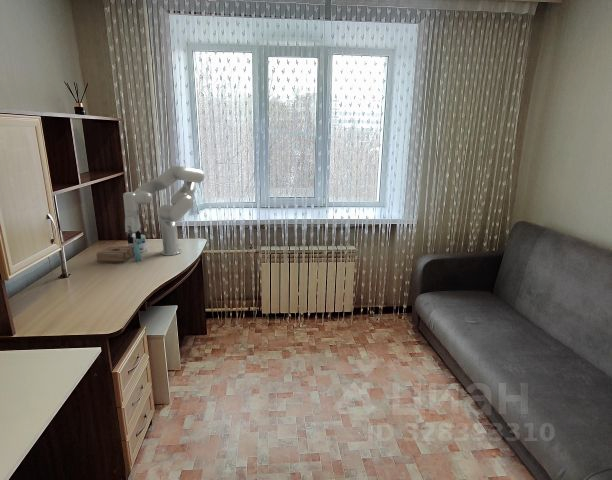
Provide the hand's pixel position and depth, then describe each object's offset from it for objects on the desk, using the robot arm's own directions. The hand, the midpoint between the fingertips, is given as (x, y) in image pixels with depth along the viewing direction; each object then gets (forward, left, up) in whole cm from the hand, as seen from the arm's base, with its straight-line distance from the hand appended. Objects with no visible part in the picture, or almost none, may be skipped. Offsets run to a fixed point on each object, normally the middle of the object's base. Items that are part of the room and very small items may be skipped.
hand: (134, 241), depth 240 cm
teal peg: (-1, 0, -13) cm, 13 cm away
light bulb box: (-21, -10, -13) cm, 26 cm away
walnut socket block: (-4, -15, -13) cm, 20 cm away
